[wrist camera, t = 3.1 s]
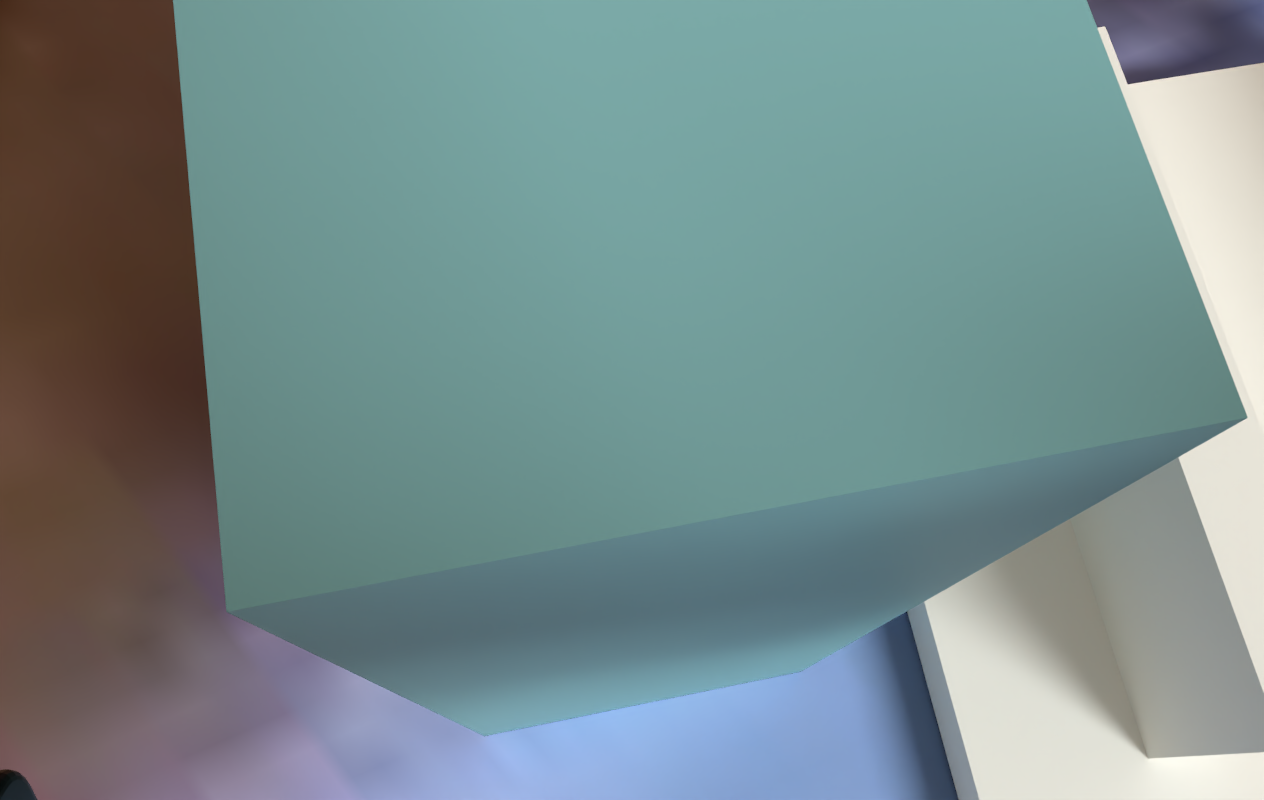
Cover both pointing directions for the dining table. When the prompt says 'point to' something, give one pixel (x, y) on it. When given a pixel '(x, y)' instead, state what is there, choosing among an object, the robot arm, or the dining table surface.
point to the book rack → (1137, 543)
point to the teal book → (663, 326)
